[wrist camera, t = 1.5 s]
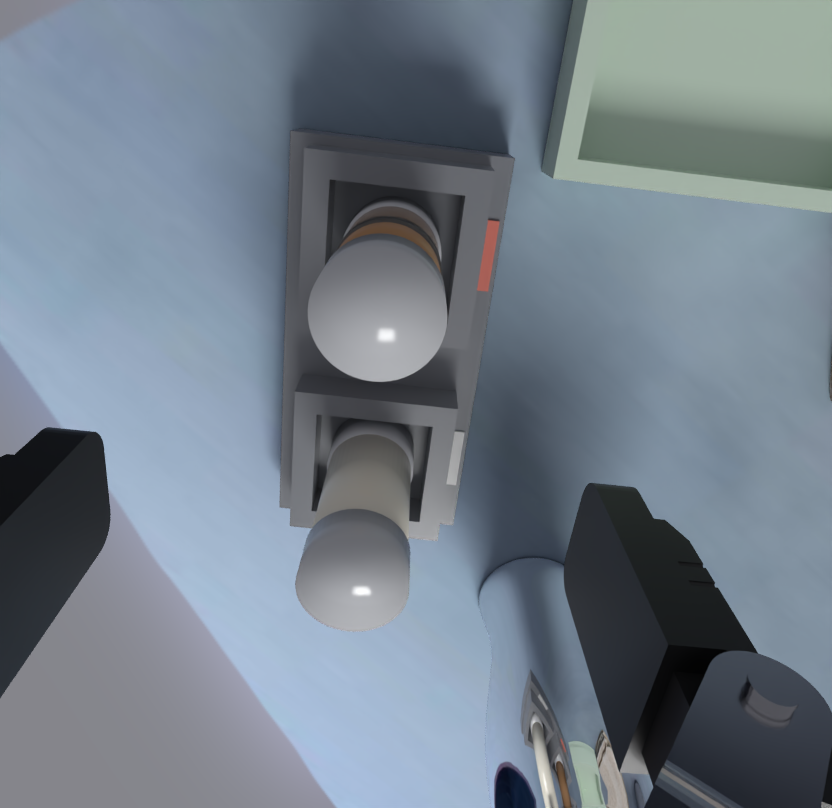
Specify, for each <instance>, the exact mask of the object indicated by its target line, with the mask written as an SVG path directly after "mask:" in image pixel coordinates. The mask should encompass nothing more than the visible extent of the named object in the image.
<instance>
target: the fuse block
mask: <svg viewBox="0 0 832 808" xmlns="http://www.w3.org/2000/svg"><path fill="white" fill-rule="evenodd" d="M514 160H515V158H513V157H512V156H511V155H509V154H502V153H494V152H486V151H477V150H469V149H461V148H453V147H445V146H437V145H429V144H421V143H413V142H405V141H397V140H389V139H381V138H373V137H364V136H356V135H348V134H340V133H332V132H324V131H316V130H308V129H300V128H299V129H295V130H291V131H290V163H289V198H288V232H287V267H286V301H285V336H284V370H283V405H282V439H281V474H280V507H281V508H290V509H291V510H290V526H294V527H304V528H312V527H313V523H314V519H315V516H316V512H317V508H318V504H319V500H320V497H321V493H322V489H323V485H324V481H325V478H326V474H327V462H328V458H329V454H330V450H331V447H332V443H333V439H334V436H335V434H336V432H337V430H338V429H339V427H340V426H341V425H342V424H343V423H344V422H345V421H347V420H348V419H350V418H355V419H364V420H374V421H383V422H392V423H401V424H403V425H404V426H405V428H406V429H407V430H408V432H409V433H410V435H411V437H412V440H413V444H414V464H413V477H412V481H411V485H410V510H409V534H408V538H412V539H422V540H432V541H437V540H438V534H439V527H440V524H446V525H453V522H454V516H455V510H456V504H457V498H458V492H459V487H460V481H461V475H462V469H463V463H464V457H465V451H466V445H467V439H468V433H469V427H470V421H471V415H472V409H473V403H474V398H475V392H476V386H477V380H478V374H479V368H480V362H481V356H482V350H483V344H484V338H485V332H486V326H487V320H488V314H489V309H490V303H491V297H492V291H493V285H494V279H495V273H496V267H497V261H498V255H499V249H500V243H501V237H502V231H503V226H504V220H505V214H506V208H507V202H508V196H509V190H510V184H511V178H512V172H513V166H514ZM388 196H398V197H403V198H407V199H410V200H412V201H414V202H416V203H418V204H419V205H421V206H422V207H423V208H424V209H425V210H427V212H428V213H429V214H430V215H431V217H432V218H433V220H434V221H435V223H436V225H437V228H438V231H439V235H440V243H441V267H442V278H443V281H444V286H445V294H446V304H447V327H446V332H445V336H444V338H443V341H442V343H441V345H440V347H439V349H438V351H437V352H436V354H435V355H434V356H433V358H432V359H431V360H430V361H429V362H428V363H427V364H426V365H425V366H423V367H422V368H421V369H419V370H418V371H416V372H415V373H413V374H411V375H409V376H407V377H404V378H401V379H398V380H393V381H385V382H373V381H366V380H362V379H358V378H355V377H352V376H350V375H348V374H346V373H344V372H342V371H341V370H339V369H338V368H336V367H335V366H334V365H332V364H331V363H330V362H329V361H328V360H327V359H326V358H325V357H324V356H323V354H322V353H321V352H320V350H319V349H318V347H317V345H316V344H315V342H314V339H313V337H312V335H311V331H310V328H309V323H308V302H309V298H310V294H311V291H312V288H313V286H314V284H315V282H316V280H317V279H318V277H319V275H320V273H321V272H322V270H323V268H324V267H325V265H326V263H327V262H328V260H329V259H330V257H331V256H332V255H333V254H334V253H335V252H336V250H337V248H338V246H339V244H340V243H341V241H342V239H343V237H344V234H345V232H346V230H347V228H348V226H349V225H350V223H351V221H352V220H353V218H354V216H355V215H356V214H357V212H358V211H359V210H360V209H361V208H362V207H364V206H365V205H366V204H368V203H369V202H371V201H373V200H376V199H378V198H382V197H388Z"/></svg>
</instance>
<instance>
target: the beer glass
mask: <svg viewBox="0 0 832 808" xmlns="http://www.w3.org/2000/svg"><path fill="white" fill-rule="evenodd" d="M479 608H480V613H481V616H482V619H483V622H484V624H485V627H486V630H487V633H488V636H489V639H490V645H491V671H490V681H489V690H488V700H487V711H486V727H485V757H486V775H487V783H488V791H489V800H490V807H491V808H644V807H645V804H646V802H647V800H648V798H649V796H650V793H651V791H652V789H653V785H652V782H651V779H650V776H649V775H646V774H633V773H620V772H619V770H618V767H617V763H616V760H615V757H614V753H613V750H612V747H611V743H610V740H609V737H608V733H607V730H606V727H605V723H604V720H603V717H602V714H601V710H600V707H599V704H598V700H597V697H596V694H595V690H594V687H593V684H592V680H591V677H590V674H589V670H588V667H587V664H586V660H585V657H584V654H583V650H582V647H581V644H580V640H579V637H578V634H577V630H576V627H575V624H574V620H573V617H572V614H571V610H570V607H569V604H568V600H567V597H566V593H565V588H564V565H562V564H560V563H558V562H556V561H553V560H550V559H545V558H522V559H517V560H514V561H511V562H508V563H506V564H504V565H502V566H500V567H499V568H497V569H496V570H495V571H493V572H492V573H491V574H490V575H489V576H488V578H487V579H486V580H485V582H484V583H483V585H482V588H481V590H480V595H479Z"/></svg>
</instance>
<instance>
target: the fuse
mask: <svg viewBox="0 0 832 808" xmlns="http://www.w3.org/2000/svg"><path fill="white" fill-rule="evenodd" d="M413 464H414V444H413V440H412V437H411V435H410V433H409V432H408V430H407V429H406V428H405V426H404V425H403V424H401V423H392V422H383V421H374V420H364V419H355V418H350V419H348V420H347V421H345V422H344V423H343V424H342V425H341V426H340V427H339V429H338V430H337V432H336V434H335V436H334V439H333V443H332V447H331V450H330V454H329V458H328V462H327V474H326V478H325V481H324V485H323V489H322V493H321V497H320V500H319V504H318V508H317V512H316V516H315V519H314V523H313V527H312V529H311V531H310V532H309V534H308V536H307V539H306V543H305V547H304V550H303V554H302V558H301V561H300V565H299V569H298V572H297V576H296V583H295V585H296V593H297V596H298V599H299V601H300V603H301V605H302V606H303V608H304V609H305V610H306V611H307V612H308V614H309V615H310V616H312V617H313V618H314V619H316V620H317V621H319V622H320V623H322V624H324V625H326V626H329V627H331V628H334V629H338V630H343V631H352V632H358V631H368V630H372V629H376V628H379V627H381V626H384V625H386V624H387V623H389V622H391V621H392V620H393V619H395V618H396V617H397V616H398V615H399V614H400V613H401V611H402V610H403V608H404V607H405V605H406V602H407V600H408V596H409V578H410V546H409V542H408V534H409V510H410V485H411V481H412V477H413Z"/></svg>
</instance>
